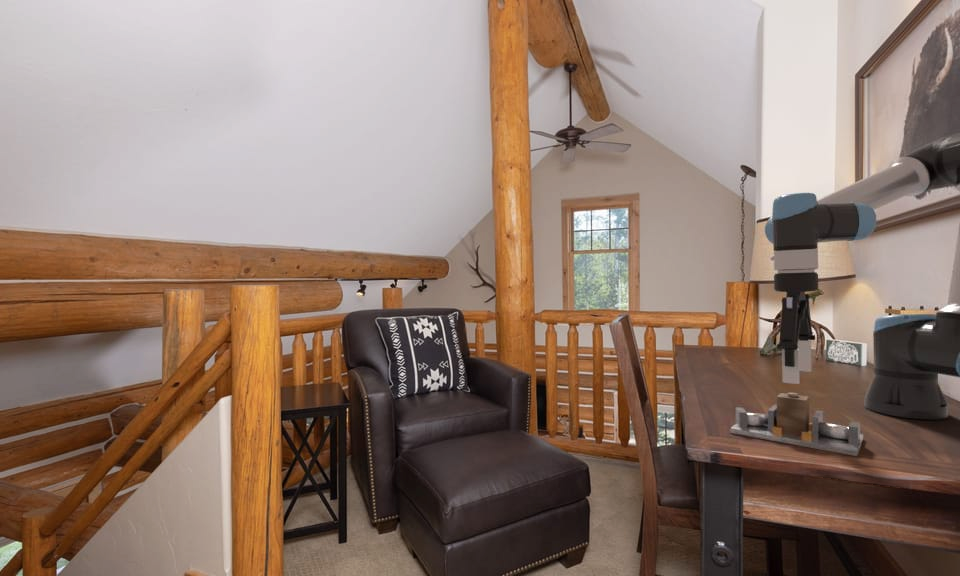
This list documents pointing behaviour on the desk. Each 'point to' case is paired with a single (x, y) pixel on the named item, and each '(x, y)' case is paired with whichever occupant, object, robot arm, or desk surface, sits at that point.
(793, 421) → the block
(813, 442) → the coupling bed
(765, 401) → the desk surface
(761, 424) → the shaft
